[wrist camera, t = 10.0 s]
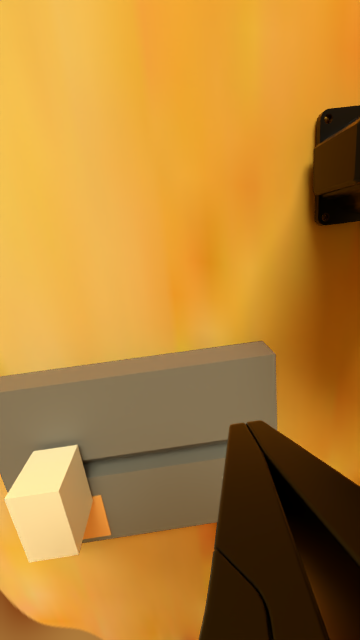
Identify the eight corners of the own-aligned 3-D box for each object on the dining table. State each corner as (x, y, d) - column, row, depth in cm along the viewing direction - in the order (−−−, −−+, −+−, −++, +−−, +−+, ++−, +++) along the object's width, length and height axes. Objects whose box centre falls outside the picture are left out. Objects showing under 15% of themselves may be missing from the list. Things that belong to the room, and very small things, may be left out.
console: (262, 340, 21) (276, 354, 18) (267, 486, 25) (279, 513, 22) (-7, 377, 20) (-31, 397, 18) (43, 520, 24) (29, 552, 22)
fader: (83, 429, 20) (58, 491, 15) (97, 482, 22) (78, 554, 17) (43, 435, 20) (4, 499, 15) (59, 487, 22) (29, 562, 17)
